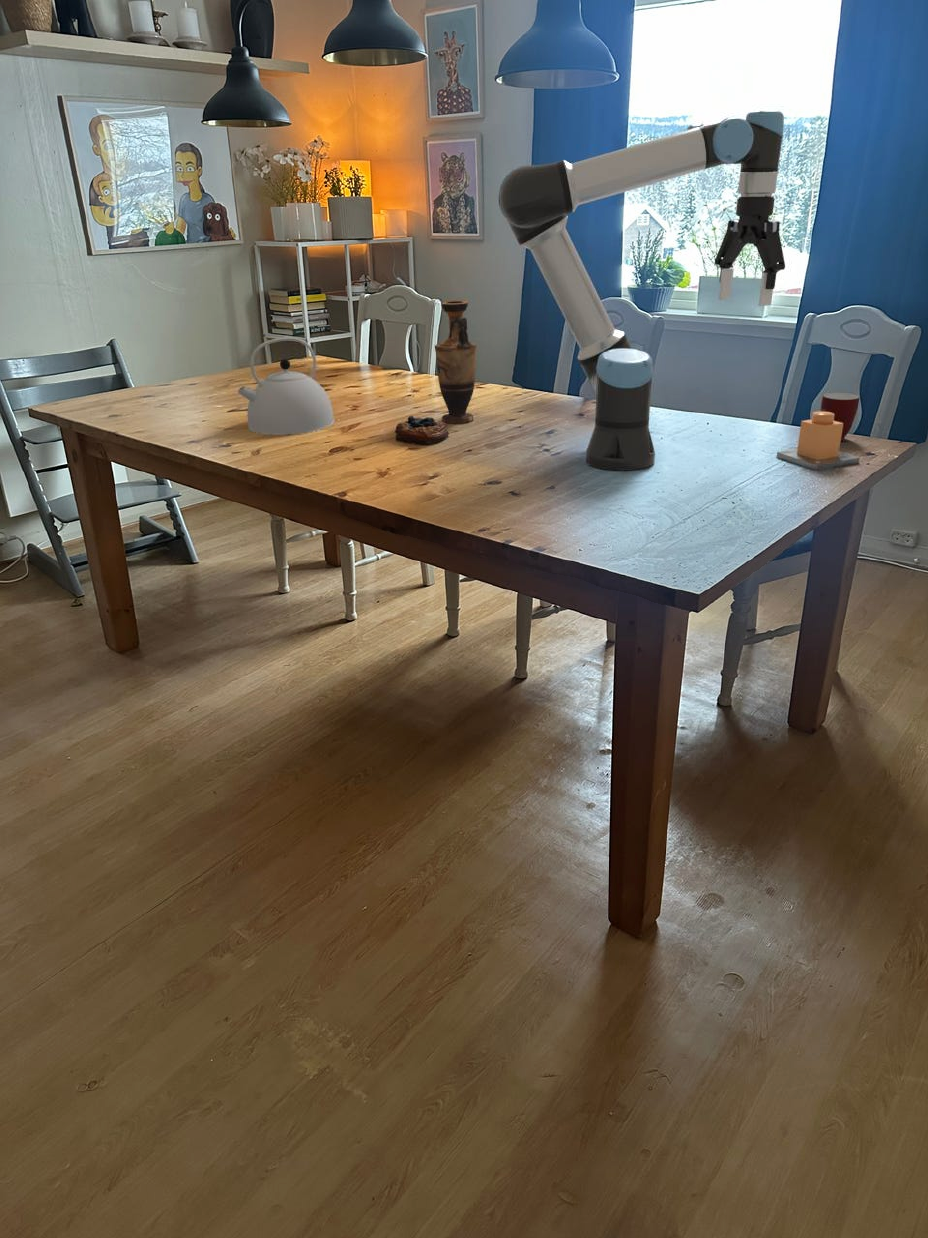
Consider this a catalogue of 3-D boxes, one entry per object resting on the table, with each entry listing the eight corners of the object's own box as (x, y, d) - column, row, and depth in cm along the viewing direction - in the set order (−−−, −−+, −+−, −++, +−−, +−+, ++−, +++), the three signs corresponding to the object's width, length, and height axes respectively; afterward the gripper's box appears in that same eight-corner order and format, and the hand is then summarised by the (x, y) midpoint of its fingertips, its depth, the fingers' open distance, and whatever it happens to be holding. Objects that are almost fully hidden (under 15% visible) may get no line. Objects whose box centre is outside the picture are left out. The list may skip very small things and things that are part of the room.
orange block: (817, 459, 192) (823, 418, 188) (796, 453, 197) (802, 412, 193) (838, 456, 194) (844, 414, 190) (817, 449, 199) (823, 409, 195)
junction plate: (816, 470, 189) (820, 439, 186) (776, 457, 199) (780, 427, 196) (858, 463, 193) (863, 432, 191) (817, 450, 203) (822, 421, 200)
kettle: (258, 441, 224) (246, 348, 214) (228, 424, 241) (216, 338, 232) (348, 426, 236) (341, 338, 226) (313, 411, 253) (305, 328, 244)
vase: (431, 418, 242) (427, 301, 229) (469, 414, 245) (466, 298, 232) (445, 426, 233) (441, 305, 220) (484, 422, 236) (482, 302, 223)
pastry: (416, 432, 229) (415, 409, 227) (455, 437, 223) (454, 414, 220) (390, 441, 221) (388, 418, 218) (429, 447, 215) (428, 423, 212)
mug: (832, 446, 206) (839, 402, 202) (802, 439, 212) (808, 397, 208) (859, 438, 212) (866, 396, 207) (829, 432, 218) (836, 391, 213)
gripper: (812, 194, 178) (797, 306, 187) (732, 195, 199) (722, 296, 208) (782, 195, 176) (768, 309, 185) (705, 195, 196) (695, 297, 206)
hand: (743, 302), depth 196 cm, fingers open, 13 cm apart
